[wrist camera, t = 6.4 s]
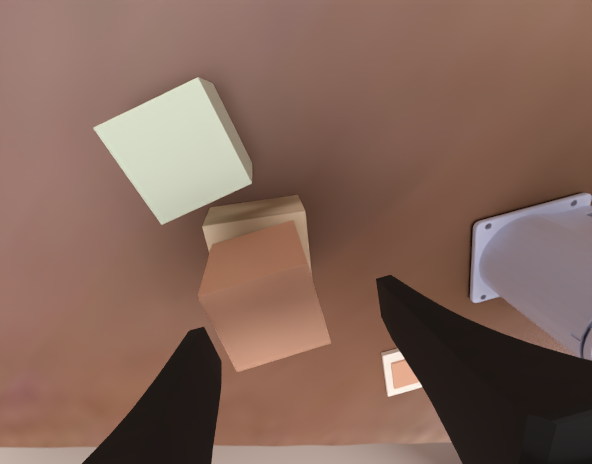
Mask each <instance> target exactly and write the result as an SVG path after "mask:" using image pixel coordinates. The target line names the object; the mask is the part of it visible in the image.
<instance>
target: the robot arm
mask: <svg viewBox="0 0 592 464" xmlns="http://www.w3.org/2000/svg"><path fill="white" fill-rule="evenodd" d="M591 199H592V196H591V194H588V193H580V194H577V195H573V196H569V197H566V198H562V199H558V200H554V201H551V202H547V203H543V204H540V205H536V206H532V207H528V208H525V209H521V210H517V211H514V212H510V213H506V214H502V215H499V216H495V217H491V218H488V219H484V220H480V221H478V222H476V223H475V224H474V226H473V238H472V261H471V283H470V300H471V301H472V302H473V303H479V302H482V301H486V300H489V299H493V298H497V297H500V296H501V297H502V298H503V299H504V300H506V301H507V302H508V303H509V304H511V305H512V306H513V307H514V308H516V309H517V310H518V311H519V312H521V313H522V314H523V315H524V316H526V317H527V318H528V319H530V320H531V321H532V322H533V323H535V324H536V325H537V326H538V327H540V328H541V329H542V330H543V331H545V332H546V333H547V334H548V335H550V336H551V337H552V338H553V339H555V340H556V341H557V342H558V343H560V344H561V345H562V346H563V347H565V348H566V349H567V350H569V351H570V352H571V353H572V354H574V355H575V356H576V357H575V356H571V355H568V354H564V353H561V352H557V351H554V350H550V349H547V348H543V347H540V346H537V345H534V344H531V343H528V342H525V341H522V340H519V339H516V338H513V337H511V336H508V335H505V334H502V333H500V332H497V331H495V330H492V329H489V328H487V327H485V326H482V325H480V324H478V323H476V322H473V321H471V320H469V319H467V318H464V317H462V316H460V315H458V314H456V313H454V312H452V311H450V310H448V309H446V308H444V307H443V306H441V305H439V304H437V303H436V302H434V301H432V300H430V299H429V298H427V297H425V296H423V295H422V294H420V293H419V292H417V291H415V290H414V289H412V288H411V287H409V286H407V285H406V284H404V283H403V282H401V281H400V280H398V279H396V278H395V277H393V276H392V275H388V276H385V277H381V278H377V279H376V282H377V289H378V296H379V303H380V310H381V317H382V319H383V321H384V323H385V325H386V328H387V330H388V332H389V334H390V336H391V338H392V340H393V341H394V343H395V344H396V346H397V348H398V349H399V351H400V352H401V354H402V356H403V357H404V359H405V360H406V362H407V363H408V365H409V367H410V368H411V370H412V371H413V373H414V374H415V376H416V377H417V379H418V381H419V382H420V384H421V385H422V387H423V388H424V390H425V392H426V394H427V395H428V397H429V399H430V400H431V402H432V404H433V406H434V408H435V410H436V412H437V414H438V416H439V418H440V420H441V422H442V423H443V425H444V427H445V429H446V431H447V433H448V435H449V437H450V439H451V441H452V443H453V445H454V447H455V449H456V451H457V453H458V455H459V457H460V459H461V461H462V463H463V464H592V206H590V204H591ZM487 224H488V225H487ZM486 225H487V226H486ZM485 226H486V227H485ZM220 393H221V360H220V358H219V356H218V354H217V352H216V350H215V348H214V346H213V344H212V342H211V340H210V338H209V336H208V334H207V332H206V330H205V328H204V327H201V328H197V329H194V330H190V331H189V332H188V333H187V335H186V336H185V337H184V339H183V340H182V342H181V343H180V345H179V346H178V347H177V349H176V350H175V352H174V353H173V355H172V356H171V358H170V359H169V361H168V362H167V363H166V365H165V366H164V368H163V369H162V370H161V372H160V373H159V375H158V376H157V377H156V379H155V380H154V381H153V383H152V384H151V385H150V387H149V388H148V389H147V391H146V392H145V393H144V395H143V396H142V397H141V398H140V400H139V401H138V402H137V404H136V405H135V406H134V407H133V409H132V410H131V411H130V412H129V413H128V415H127V416H126V417H125V418H124V419H123V420H122V421H121V423H120V424H119V425H118V426H117V427H116V428H115V429H114V431H113V432H112V433H111V434H110V435H109V436H108V437H107V438H106V439H105V440H104V441H103V442H102V443H101V444H100V445H99V447H98V448H97V449H96V450H95V451H94V452H93V453H92V454H91V455H90V456H89V457H88V458H87V459H86V460H85V461H84V462H83V463H82V464H211V461H212V450H213V443H214V436H215V429H216V422H217V415H218V408H219V400H220Z"/></svg>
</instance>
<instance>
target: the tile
mask: <svg viewBox="0 0 592 464" xmlns="http://www.w3.org/2000/svg"><path fill="white" fill-rule="evenodd" d="M381 357H382V365H383V372H384V379H385V386H386V393H387V395H388V397H389V396H393V395H396V394H400V393H403V392H407V391H410V390H414V389H417V388H421V387H422V385H421V384H420V382H419V381H418V379H417V377H416V376H415V374H414V373H413V371H412V370H411V368H410V367H409V365H408V363H407V362H406V360H405V359H404V357H403V356H402V354H401V352H400V351H399V349H398V348H396V349H393V350H389V351H385V352H382V353H381Z"/></svg>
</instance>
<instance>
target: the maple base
mask: <svg viewBox="0 0 592 464" xmlns="http://www.w3.org/2000/svg"><path fill="white" fill-rule="evenodd" d="M292 220H293V221H294V224H295V227H296V230H297V233H298V236H299V239H300V242H301V245H302V248H303V250H304V253H305V256H306V259H307V262H308V265H309V269H310V272H311V263H310V253H309V243H308V233H307V223H306V213H305V209H304V207H303V205H302V203H301V201H300V198H299V196H298V195H292V196H285V197H278V198H272V199H265V200H258V201H251V202H244V203H237V204H230V205H223V206H216V207H210V208H209V211H208V213H207V216H206V218H205V221H204V223H203V226H202V228H203V231H204V235H205V239H206V242H207V246H208V250H209V253H210V249H211V246H212V244H216V243H219V242H222V241H226V240H229V239H232V238H235V237H239V236H242V235H245V234H249V233H252V232H255V231H259V230H262V229H265V228H268V227H272V226H275V225H278V224H282V223H285V222H288V221H292ZM311 276H312V273H311Z"/></svg>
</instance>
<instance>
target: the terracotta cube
mask: <svg viewBox="0 0 592 464" xmlns="http://www.w3.org/2000/svg"><path fill="white" fill-rule="evenodd" d="M198 299H199V300H200V302H201V304H202V306H203V308H204V310H205V312H206V314H207V316H208V318H209V319H210V321H211V323H212V325H213V327H214V329H215V331H216V333H217V335H218V337H219V339H220V340H221V342H222V344H223V346H224V348H225V350H226V352H227V354H228V356H229V358H230V359H231V361H232V363H233V365H234V367H235V369H236V371H237V372H239V371H243V370H246V369H249V368H252V367H255V366H259V365H262V364H265V363H268V362H272V361H275V360H278V359H281V358H285V357H288V356H291V355H294V354H298V353H301V352H304V351H307V350H310V349H314V348H317V347H320V346H323V345H327V344H330V343H331V341H330V337H329V334H328V331H327V327H326V324H325V320H324V317H323V313H322V310H321V307H320V303H319V300H318V296H317V293H316V289H315V286H314V283H313V279H312V276H311V272H310V269H309V265H308V262H307V259H306V256H305V253H304V250H303V248H302V245H301V242H300V239H299V236H298V233H297V230H296V227H295V224H294V221H293V220H292V221H288V222H285V223H282V224H278V225H275V226H272V227H268V228H265V229H262V230H259V231H255V232H252V233H249V234H245V235H242V236H239V237H235V238H232V239H229V240H226V241H222V242H219V243H216V244H212V246H211V249H210V253H209V257H208V260H207V264H206V268H205V271H204V275H203V279H202V282H201V286H200V290H199V293H198Z"/></svg>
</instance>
